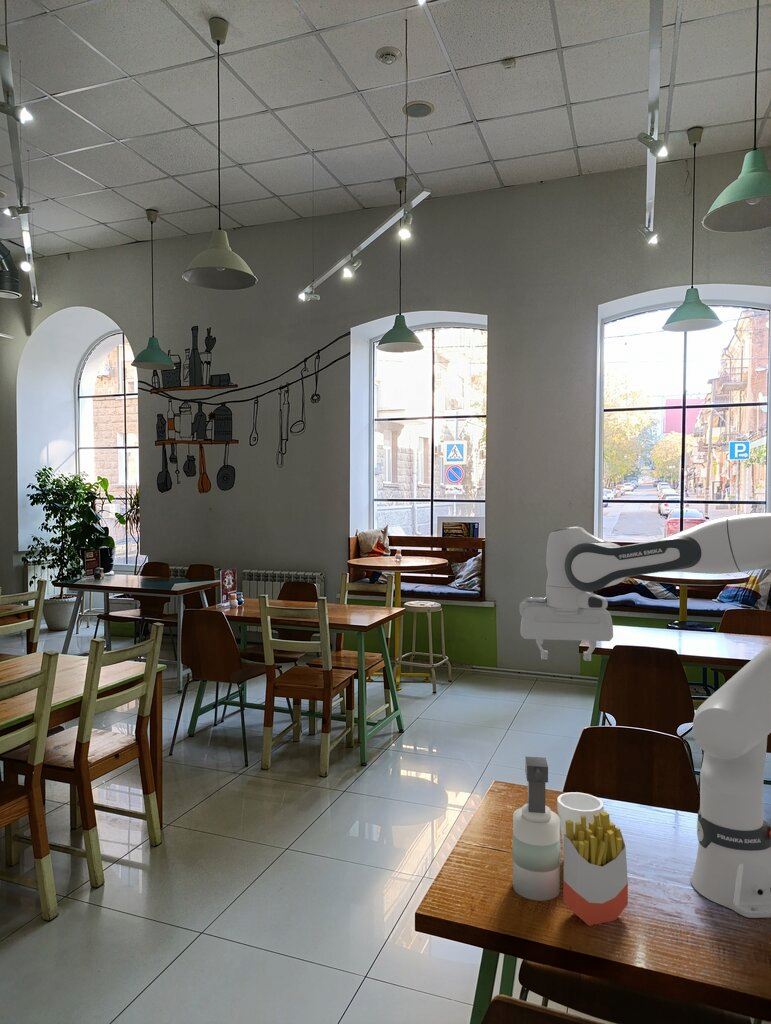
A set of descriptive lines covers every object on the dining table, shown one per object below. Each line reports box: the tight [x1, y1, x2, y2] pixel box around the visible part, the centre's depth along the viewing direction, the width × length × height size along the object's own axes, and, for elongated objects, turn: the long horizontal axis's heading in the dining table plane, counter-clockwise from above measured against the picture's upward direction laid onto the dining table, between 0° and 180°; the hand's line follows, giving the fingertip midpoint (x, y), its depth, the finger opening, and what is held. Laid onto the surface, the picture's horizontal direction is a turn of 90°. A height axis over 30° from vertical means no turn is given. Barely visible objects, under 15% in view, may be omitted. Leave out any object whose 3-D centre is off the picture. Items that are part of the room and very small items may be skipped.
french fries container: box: [563, 810, 629, 926], centre depth 122 cm, size 5×11×18 cm, turn 107°
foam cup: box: [556, 791, 605, 852], centre depth 141 cm, size 10×9×13 cm
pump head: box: [524, 756, 549, 783], centre depth 129 cm, size 4×9×9 cm, turn 172°
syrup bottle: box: [511, 781, 561, 902], centre depth 131 cm, size 9×9×22 cm
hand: (565, 659), depth 150 cm, fingers open, 8 cm apart
